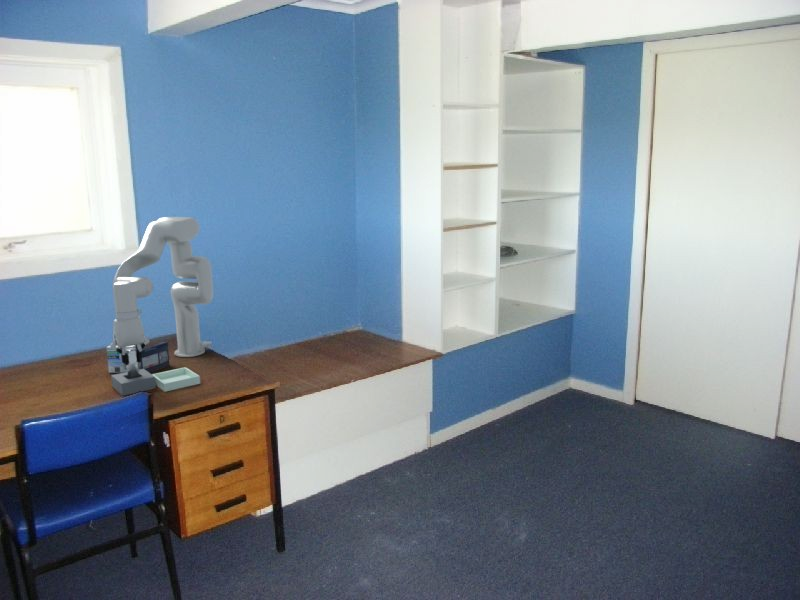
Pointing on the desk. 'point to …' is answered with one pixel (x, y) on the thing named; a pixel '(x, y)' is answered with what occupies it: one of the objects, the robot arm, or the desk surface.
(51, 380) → the desk surface
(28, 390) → the desk surface
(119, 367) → the light bulb box
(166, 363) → the vhs cassette tape
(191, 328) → the robot arm
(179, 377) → the tray
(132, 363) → the steel pin
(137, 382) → the pin holder
